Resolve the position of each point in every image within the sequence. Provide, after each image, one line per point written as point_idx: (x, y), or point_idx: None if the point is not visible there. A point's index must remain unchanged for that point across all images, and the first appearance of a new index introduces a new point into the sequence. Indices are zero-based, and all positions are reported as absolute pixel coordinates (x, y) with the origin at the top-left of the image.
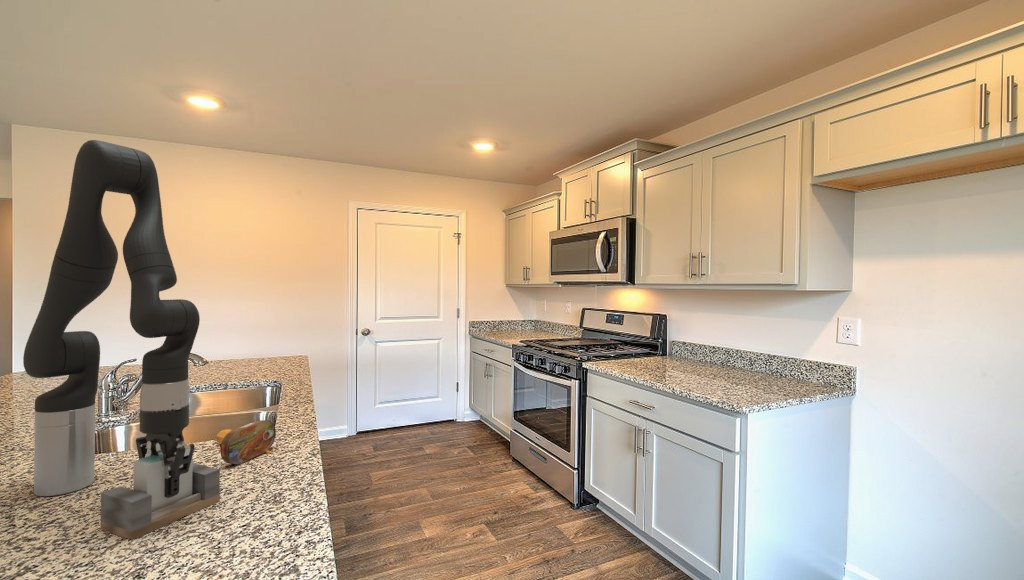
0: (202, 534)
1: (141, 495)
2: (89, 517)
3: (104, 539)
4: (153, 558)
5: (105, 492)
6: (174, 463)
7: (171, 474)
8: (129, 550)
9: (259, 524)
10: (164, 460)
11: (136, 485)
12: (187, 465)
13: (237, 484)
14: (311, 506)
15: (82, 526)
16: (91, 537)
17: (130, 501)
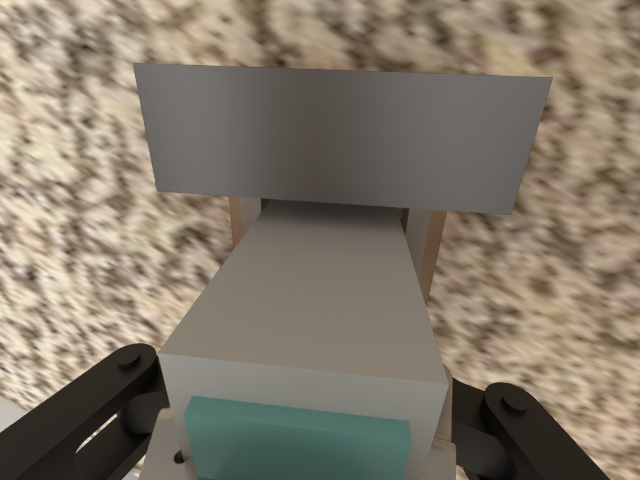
0: (68, 198)
1: (209, 166)
2: (633, 131)
3: (350, 26)
4: (14, 14)
5: (523, 100)
6: (48, 437)
7: (140, 355)
8: (155, 12)
9: (4, 292)
10: (148, 458)
11: (370, 239)
12: (85, 446)
13: None
14: (9, 390)
15: (582, 61)
16: (427, 11)
17: (168, 72)
